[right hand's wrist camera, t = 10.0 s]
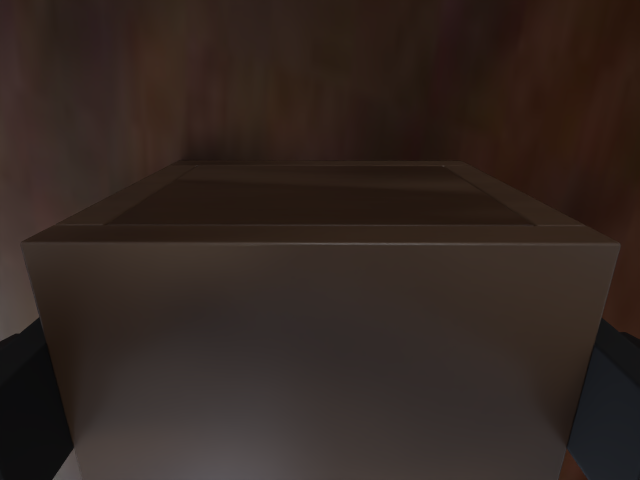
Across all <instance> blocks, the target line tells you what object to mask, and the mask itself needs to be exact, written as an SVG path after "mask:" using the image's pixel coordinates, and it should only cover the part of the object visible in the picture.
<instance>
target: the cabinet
mask: <svg viewBox="0 0 640 480" xmlns="http://www.w3.org/2000/svg"><path fill="white" fill-rule="evenodd" d="M620 247H621V245H620V243H619V242H617V241H615V240H613V239H611V238H609V237H607V236H605V235H603V234H602V233H600V232H598V231H596V230H594V229H592V228H590V227H588V226H585V225H584V224H582V223H580V222H578V221H576V220H574V219H573V218H571V217H569V216H567V215H565V214H563V213H561V212H559V211H557V210H555V209H553V208H551V207H549V206H548V205H546V204H544V203H542V202H540V201H538V200H536V199H534V198H532V197H530V196H528V195H526V194H524V193H523V192H521V191H519V190H517V189H515V188H513V187H511V186H509V185H507V184H505V183H503V182H501V181H499V180H498V179H496V178H494V177H492V176H490V175H488V174H486V173H484V172H482V171H480V170H478V169H476V168H474V167H473V166H471V165H469V164H467V163H465V162H463V161H230V160H179V161H177V162H175V163H173V164H171V165H169V166H167V167H165V168H164V169H162V170H160V171H158V172H156V173H154V174H152V175H150V176H148V177H146V178H144V179H142V180H140V181H138V182H137V183H135V184H133V185H131V186H129V187H127V188H125V189H123V190H121V191H119V192H117V193H115V194H113V195H111V196H109V197H108V198H106V199H104V200H102V201H100V202H98V203H96V204H94V205H92V206H90V207H88V208H86V209H84V210H82V211H80V212H79V213H77V214H75V215H73V216H71V217H69V218H67V219H65V220H63V221H61V222H59V223H57V224H56V225H53V226H51V227H49V228H47V229H45V230H43V231H42V232H40V233H38V234H36V235H34V236H32V237H30V238H28V239H26V240H24V241H22V242H21V249H22V252H23V256H24V260H25V264H26V268H27V271H28V275H29V279H30V283H31V287H32V290H33V294H34V298H35V302H36V306H37V309H38V313H39V317H40V321H41V325H42V328H43V332H44V336H45V340H46V344H47V348H48V351H49V355H50V359H51V363H52V367H53V370H54V374H55V378H56V382H57V386H58V389H59V393H60V397H61V401H62V405H63V408H64V412H65V416H66V420H67V424H68V427H69V431H70V435H71V439H72V443H73V446H74V450H75V454H76V458H77V462H78V466H79V469H80V473H81V477H82V480H558V478H559V475H560V471H561V467H562V463H563V460H564V456H565V452H566V448H567V445H568V441H569V437H570V433H571V430H572V426H573V422H574V419H575V415H576V411H577V407H578V404H579V400H580V396H581V392H582V389H583V385H584V381H585V377H586V374H587V370H588V366H589V362H590V359H591V355H592V351H593V348H594V344H595V340H596V336H597V333H598V329H599V325H600V321H601V318H602V314H603V310H604V306H605V303H606V299H607V295H608V291H609V288H610V284H611V280H612V277H613V273H614V269H615V265H616V262H617V258H618V254H619V250H620Z"/></svg>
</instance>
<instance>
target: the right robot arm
mask: <svg viewBox="0 0 640 480" xmlns="http://www.w3.org/2000/svg"><path fill="white" fill-rule="evenodd" d="M73 448H74V446H73V443H72V439H71V435H70V431H69V427H68V424H67V420H66V416H65V412H64V408H63V405H62V401H61V397H60V393H59V389H58V386H57V382H56V378H55V374H54V370H53V367H52V363H51V359H50V355H49V351H48V348H47V344H46V340H45V336H44V332H43V328H42V325H41V321H40V317H39V318H38V319H37V320H35V321H34V322H33V323H32V324H31V325H29V326H28V327H27V328H26V329H25V330H23V331H22V332H21V333H20V334H14V335H12V336H10V337H8V338H6V339H4V340H2V341H0V480H52V479H53V478H54V476H55V475H56V473H57V472H58V470H59V469H60V467H61V466H62V465H63V463H64V462H65V460H66V459H67V457H68V456H69V454H70V453H71V451H72V450H73ZM567 449H568V451H569V452H570V454H571V455H572V456H573V458H574V459H575V461H576V462H577V464H578V465H579V467H580V468H581V470H582V471H583V473H584V474H585V476H586V477H587V479H588V480H640V339H638V338H636V337H634V336H632V335H630V334H628V333H626V332H618V331H617V330H616V329H615V328H614V327H612V326H611V325H610V324H609V323H607V322H606V321H605V320H604V319H603V318H601V321H600V325H599V329H598V333H597V336H596V340H595V344H594V348H593V351H592V355H591V359H590V362H589V366H588V370H587V374H586V377H585V381H584V385H583V389H582V392H581V396H580V400H579V404H578V407H577V411H576V415H575V419H574V422H573V426H572V430H571V433H570V437H569V441H568V445H567Z"/></svg>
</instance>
